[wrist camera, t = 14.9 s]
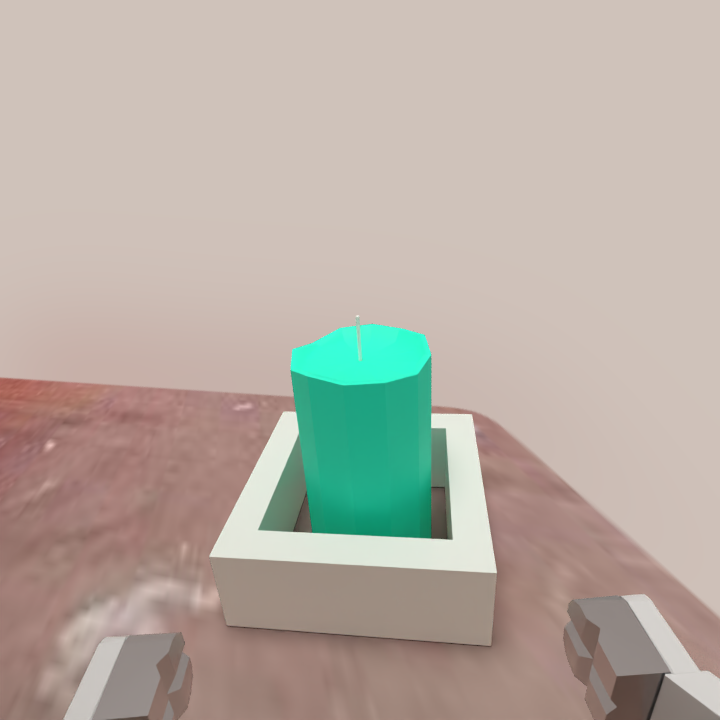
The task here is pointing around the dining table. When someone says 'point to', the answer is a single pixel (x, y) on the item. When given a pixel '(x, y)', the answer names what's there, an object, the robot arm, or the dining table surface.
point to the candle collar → (360, 554)
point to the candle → (366, 430)
